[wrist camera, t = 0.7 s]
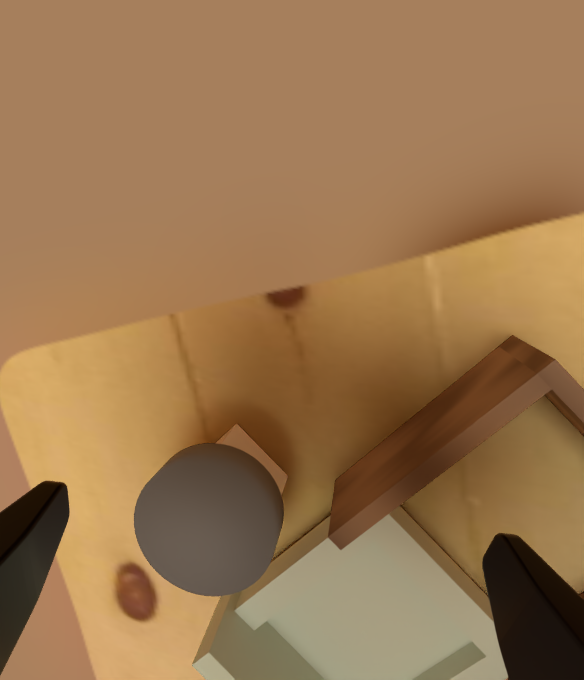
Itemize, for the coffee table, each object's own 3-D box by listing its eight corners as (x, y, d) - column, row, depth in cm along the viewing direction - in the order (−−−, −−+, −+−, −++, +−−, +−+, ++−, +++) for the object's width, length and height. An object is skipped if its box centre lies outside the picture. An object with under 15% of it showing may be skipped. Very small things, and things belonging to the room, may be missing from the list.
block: (288, 476, 25) (275, 511, 21) (238, 518, 26) (218, 559, 22) (236, 423, 25) (215, 450, 21) (188, 468, 26) (161, 501, 22)
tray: (368, 473, 24) (368, 530, 19) (525, 636, 24) (566, 733, 19) (223, 589, 26) (191, 665, 21) (367, 733, 27) (367, 841, 22)
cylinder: (312, 515, 21) (306, 541, 19) (219, 589, 23) (206, 621, 21) (215, 416, 21) (199, 432, 19) (128, 497, 22) (106, 521, 20)
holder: (512, 335, 21) (555, 359, 17) (703, 536, 22) (799, 618, 17) (335, 480, 24) (327, 537, 19) (506, 656, 25) (541, 756, 20)
